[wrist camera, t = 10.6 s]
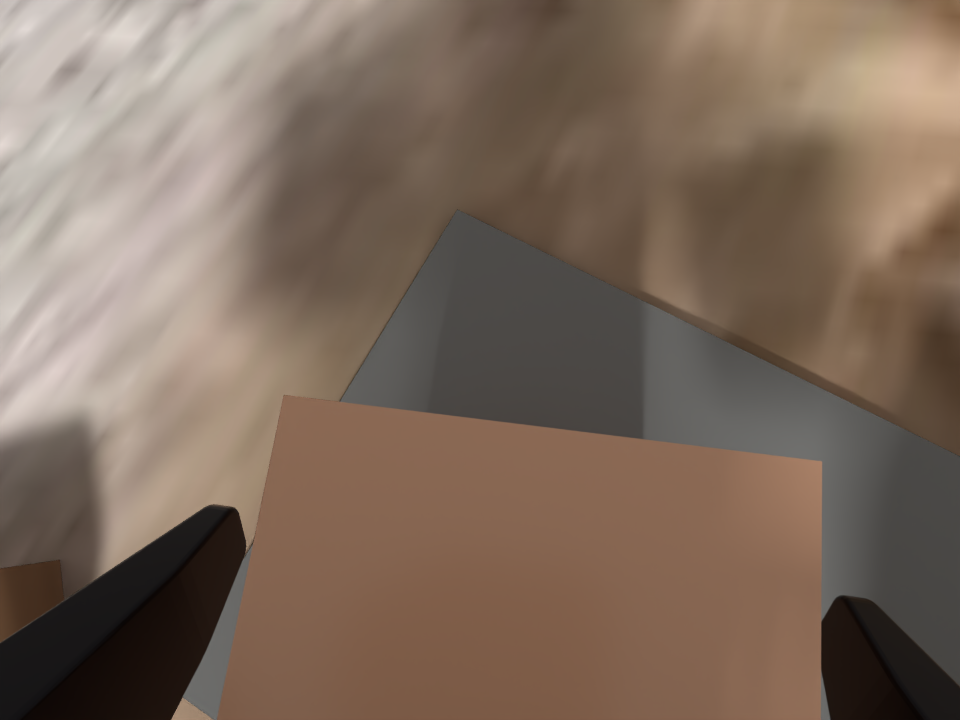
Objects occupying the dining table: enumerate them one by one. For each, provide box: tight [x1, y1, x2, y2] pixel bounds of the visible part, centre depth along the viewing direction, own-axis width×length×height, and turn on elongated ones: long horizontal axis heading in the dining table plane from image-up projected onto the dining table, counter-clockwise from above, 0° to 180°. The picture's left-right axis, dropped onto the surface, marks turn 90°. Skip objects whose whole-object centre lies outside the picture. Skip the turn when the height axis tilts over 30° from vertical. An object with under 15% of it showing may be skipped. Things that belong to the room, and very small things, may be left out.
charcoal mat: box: [183, 210, 960, 720], centre depth 16 cm, size 18×16×1 cm
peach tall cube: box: [217, 395, 822, 720], centre depth 11 cm, size 6×6×10 cm
